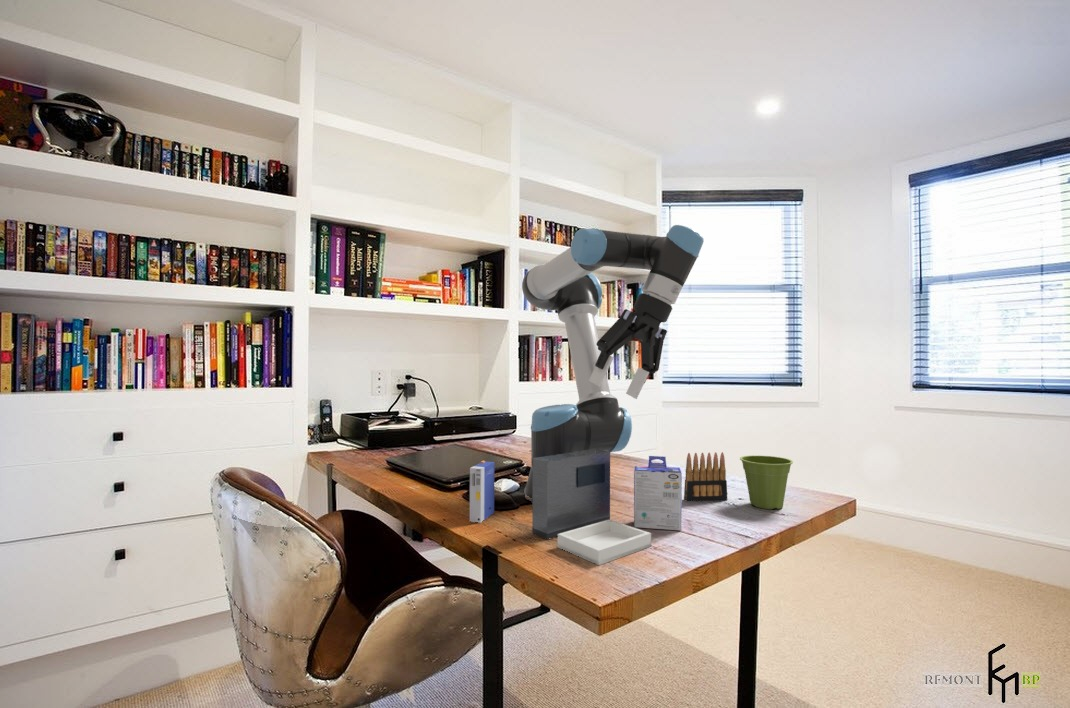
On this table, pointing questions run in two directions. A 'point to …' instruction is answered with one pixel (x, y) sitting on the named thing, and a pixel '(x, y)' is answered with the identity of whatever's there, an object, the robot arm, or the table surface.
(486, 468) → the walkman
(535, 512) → the block
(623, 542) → the tray
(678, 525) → the ink cartridge box
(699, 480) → the ammunition clip
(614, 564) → the table surface
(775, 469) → the plant pot
